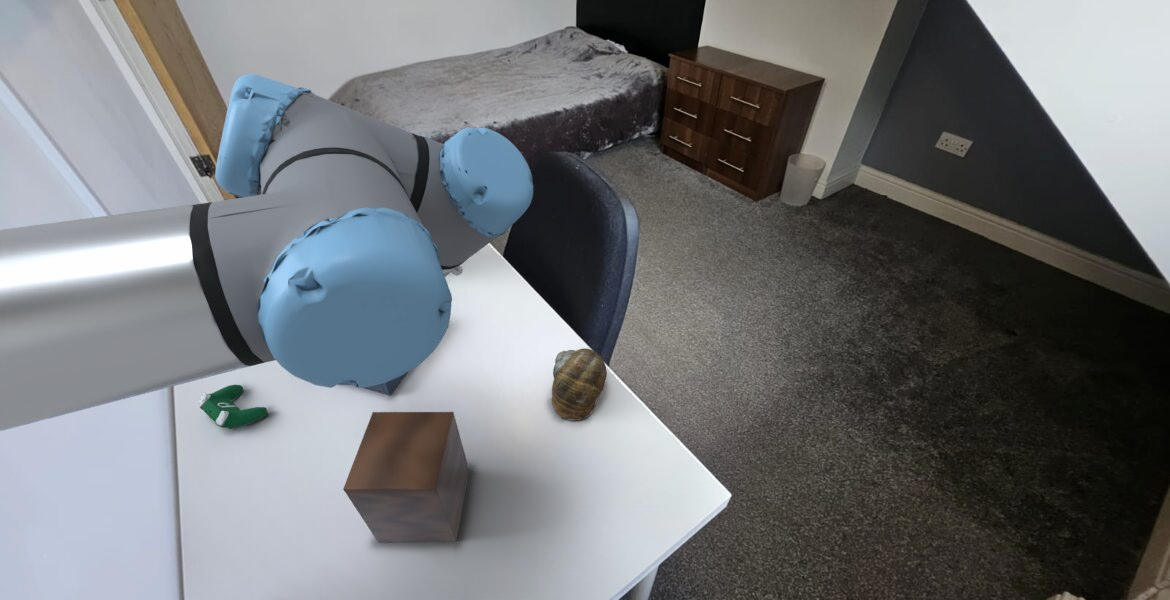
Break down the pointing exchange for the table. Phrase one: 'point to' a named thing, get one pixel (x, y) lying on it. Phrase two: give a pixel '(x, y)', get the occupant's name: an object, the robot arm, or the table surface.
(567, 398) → the seashell
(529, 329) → the table surface
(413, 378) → the table surface
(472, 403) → the table surface
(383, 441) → the block
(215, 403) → the gaming controller
